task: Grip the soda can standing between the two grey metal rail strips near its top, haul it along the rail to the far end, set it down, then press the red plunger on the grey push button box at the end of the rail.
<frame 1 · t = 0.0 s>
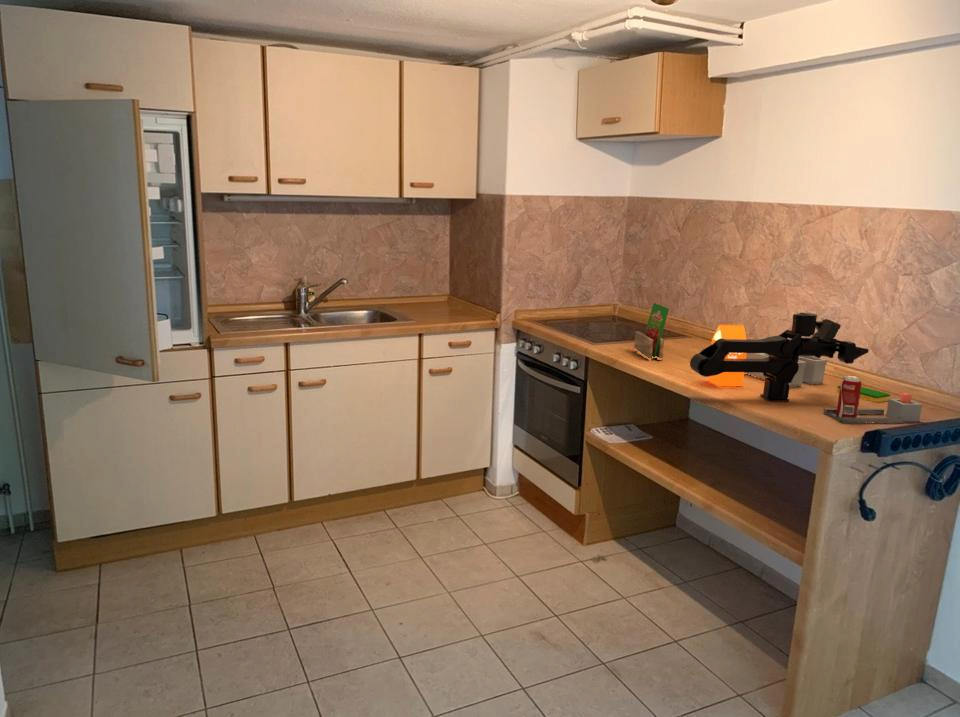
hand: (858, 347, 229), 17 cm above the counter, tool horizontal, fingers open, 9 cm apart
rail: (862, 418, 212), on the counter
orange juice: (724, 384, 246), on the counter
plunger: (905, 402, 213), point 5 cm above the counter, slide at 0.0 cm
packet holder: (647, 355, 285), on the counter
grey push button box: (902, 418, 214), on the counter
dish sponge: (862, 397, 237), on the counter
grey compartment organizer: (773, 377, 260), on the counter
soda can: (845, 419, 212), on the counter
tomato puree packet: (646, 356, 285), resting in packet holder
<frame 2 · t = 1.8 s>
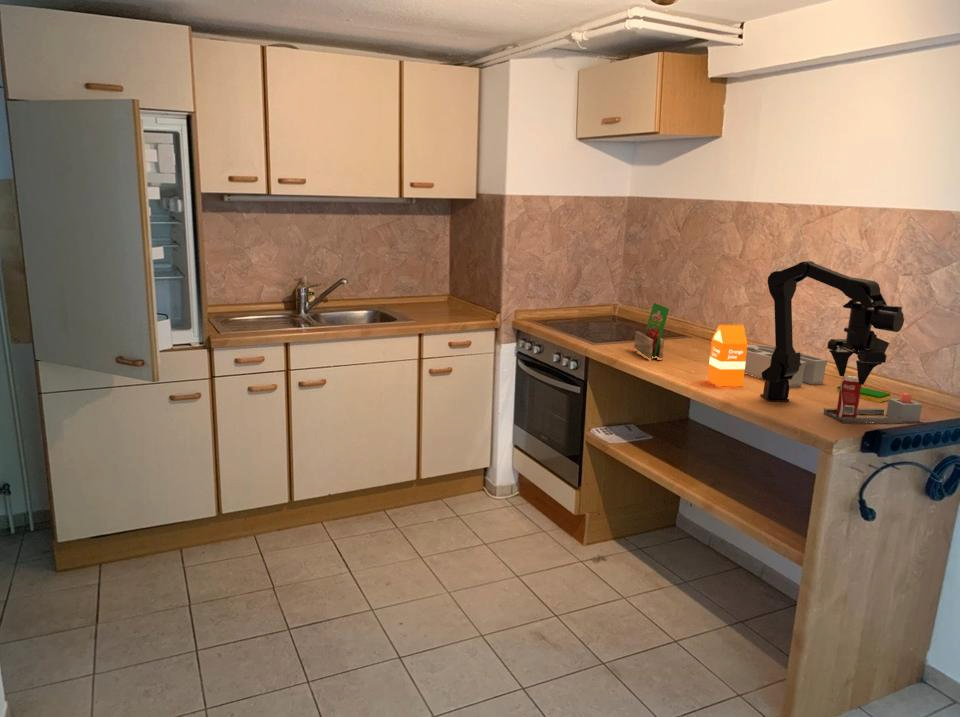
hand: (851, 380, 209), 11 cm above the counter, tool pointing down, fingers open, 9 cm apart
tomato puree packet: (646, 356, 285), resting in packet holder
everything else where it was.
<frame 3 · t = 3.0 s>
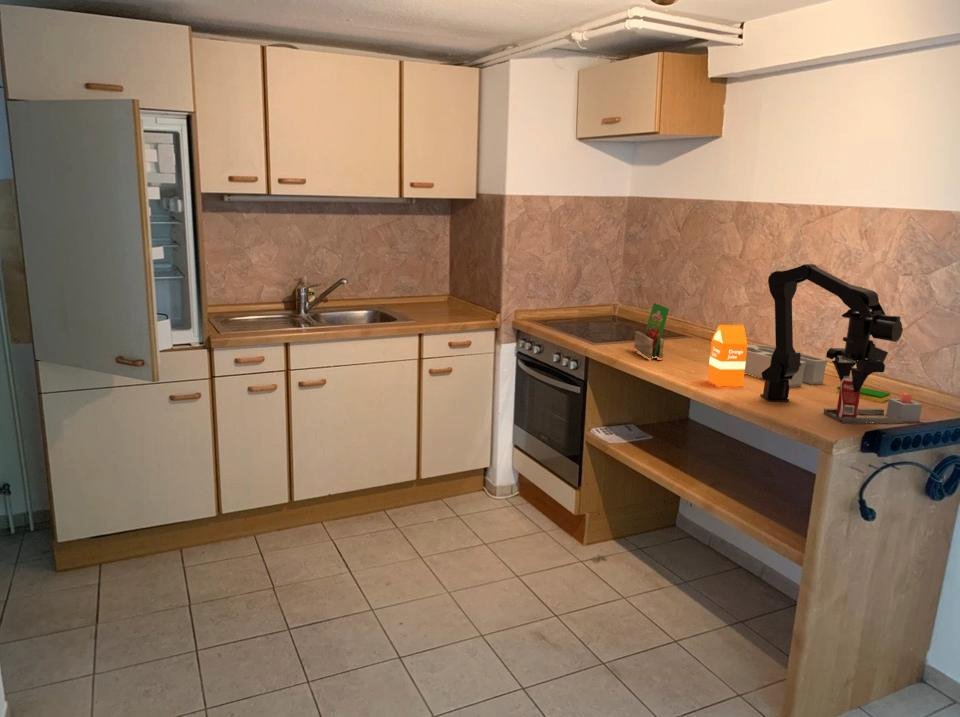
hand: (850, 389, 210), 9 cm above the counter, tool pointing down, fingers closed on soda can, 5 cm apart
soda can: (845, 418, 212), on the counter, touching gripper
everything else where it was.
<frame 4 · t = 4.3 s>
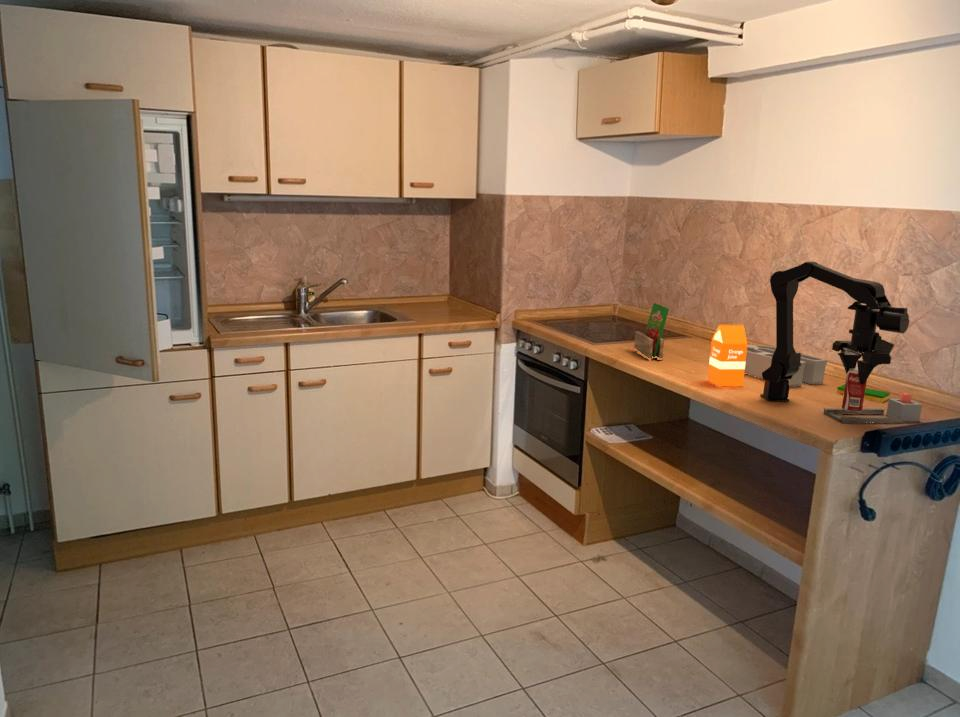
hand: (856, 381, 209), 11 cm above the counter, tool pointing down, fingers closed on soda can, 5 cm apart
soda can: (851, 411, 211), point 2 cm above the counter, touching gripper
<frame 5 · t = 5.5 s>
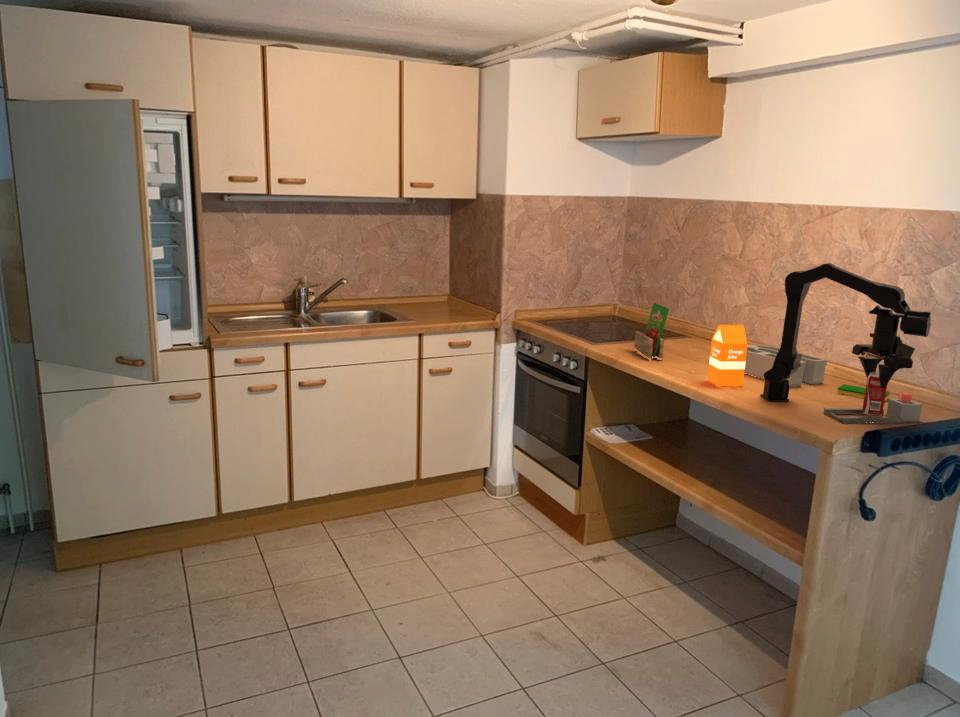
hand: (876, 385, 210), 10 cm above the counter, tool pointing down, fingers closed on soda can, 5 cm apart
soda can: (871, 414, 212), point 1 cm above the counter, touching gripper
when the fingers open (9 cm above the counter, at t = 6.0 s): soda can stays where it is, on the counter.
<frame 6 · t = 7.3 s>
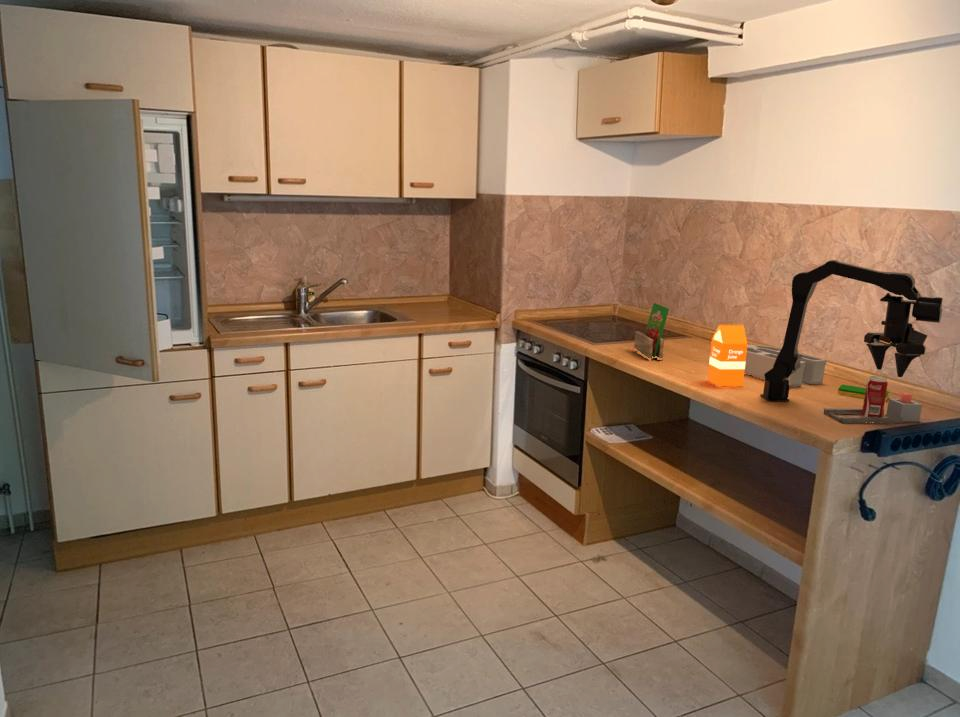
hand: (889, 373, 210), 13 cm above the counter, tool pointing down, fingers open, 9 cm apart
soda can: (871, 418, 213), on the counter
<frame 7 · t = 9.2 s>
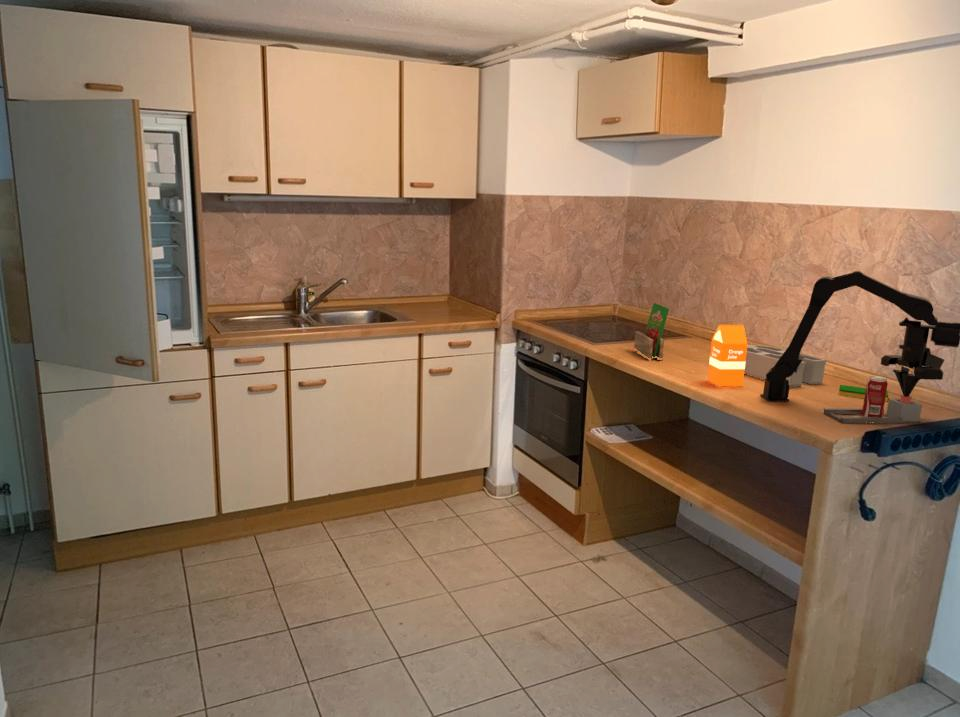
hand: (906, 396, 212), 7 cm above the counter, tool pointing down, fingers closed, pressing on plunger
plunger: (904, 405, 213), point 4 cm above the counter, slide at 0.7 cm, touching gripper
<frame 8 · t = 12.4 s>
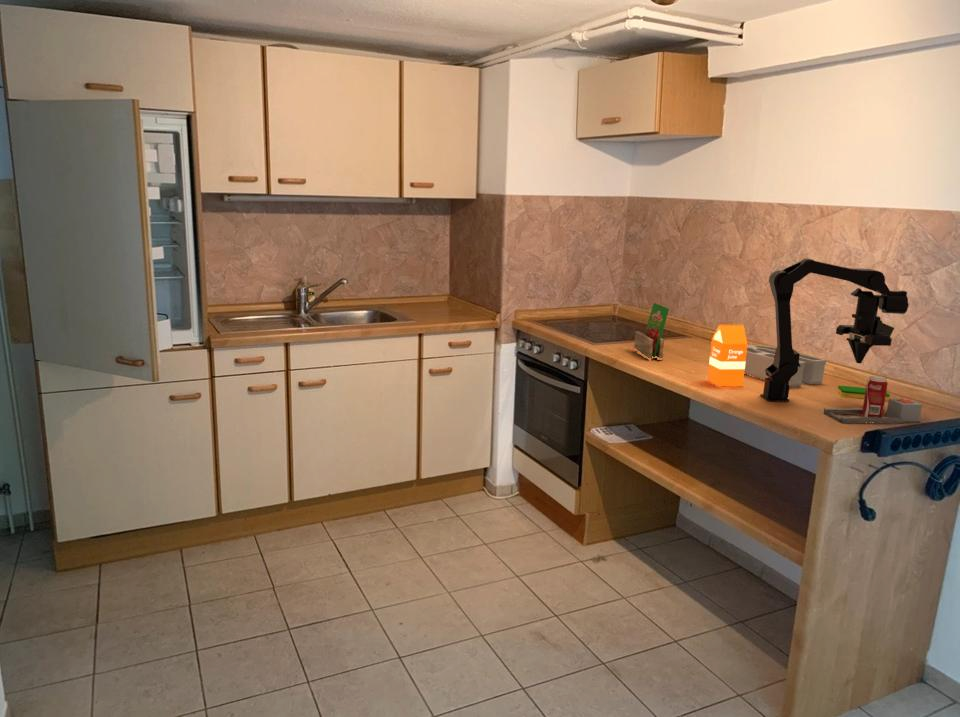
hand: (858, 363, 224), 13 cm above the counter, tool pointing down, fingers closed
plunger: (904, 407, 213), point 3 cm above the counter, slide at 1.6 cm
at the end: soda can inside the target area (0.4 cm from its centre), on the counter; soda can tilted 0°; plunger slide at 1.6 cm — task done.
